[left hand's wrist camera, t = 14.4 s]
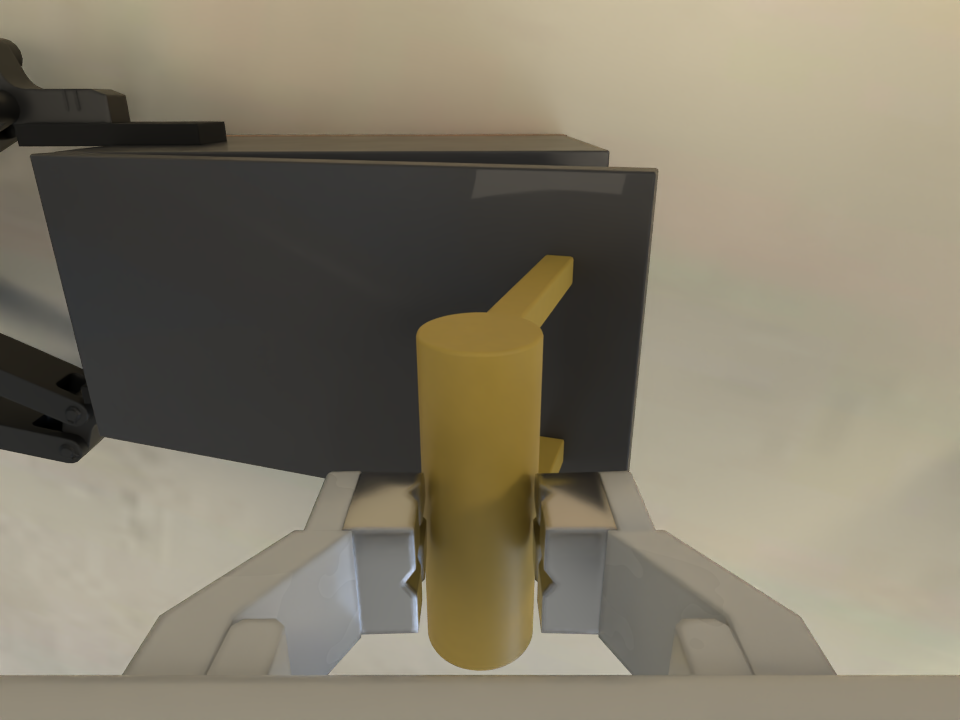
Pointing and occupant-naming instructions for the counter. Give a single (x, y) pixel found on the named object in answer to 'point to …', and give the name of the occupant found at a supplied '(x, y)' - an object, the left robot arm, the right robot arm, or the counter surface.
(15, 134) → the right robot arm
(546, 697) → the left robot arm
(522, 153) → the chest
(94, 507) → the counter surface
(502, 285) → the lid
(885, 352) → the counter surface
